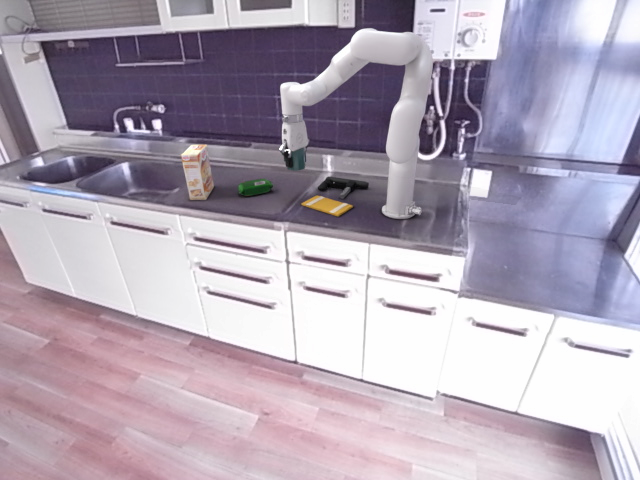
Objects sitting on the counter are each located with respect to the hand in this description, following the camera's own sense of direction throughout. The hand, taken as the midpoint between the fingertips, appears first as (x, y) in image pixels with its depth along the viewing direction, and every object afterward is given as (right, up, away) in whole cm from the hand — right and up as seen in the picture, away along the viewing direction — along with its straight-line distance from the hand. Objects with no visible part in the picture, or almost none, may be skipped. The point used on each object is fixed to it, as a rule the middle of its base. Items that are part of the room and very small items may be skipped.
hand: (296, 164), depth 148 cm
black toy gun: (+19, -9, +14) cm, 25 cm away
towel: (+12, -17, +1) cm, 21 cm away
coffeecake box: (-42, -10, +16) cm, 46 cm away
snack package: (-18, -10, +15) cm, 25 cm away
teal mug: (-1, -1, +1) cm, 2 cm away
